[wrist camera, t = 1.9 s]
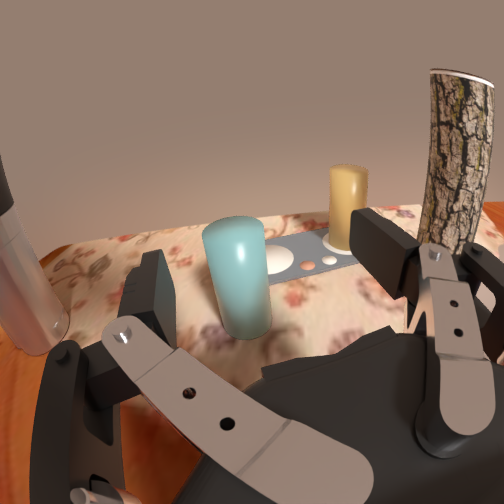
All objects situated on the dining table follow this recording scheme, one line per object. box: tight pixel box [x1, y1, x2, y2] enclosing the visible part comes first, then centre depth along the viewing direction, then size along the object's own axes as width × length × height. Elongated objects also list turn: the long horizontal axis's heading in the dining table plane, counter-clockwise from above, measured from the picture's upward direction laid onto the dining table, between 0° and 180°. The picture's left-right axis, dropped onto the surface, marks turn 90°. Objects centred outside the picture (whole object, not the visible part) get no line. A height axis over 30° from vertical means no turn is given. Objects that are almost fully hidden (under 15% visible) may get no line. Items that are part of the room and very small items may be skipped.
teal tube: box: [202, 216, 272, 340], centre depth 26 cm, size 5×5×11 cm
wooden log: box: [416, 69, 494, 254], centre depth 22 cm, size 7×7×25 cm
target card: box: [265, 227, 360, 285], centre depth 39 cm, size 24×10×1 cm, turn 103°
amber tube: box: [328, 164, 368, 251], centre depth 36 cm, size 5×5×11 cm
